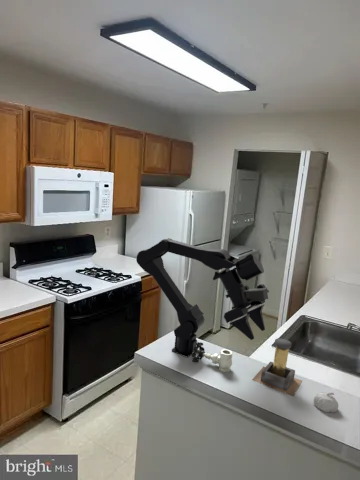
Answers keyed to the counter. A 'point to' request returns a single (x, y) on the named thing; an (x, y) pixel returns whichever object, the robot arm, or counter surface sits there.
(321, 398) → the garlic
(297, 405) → the counter surface
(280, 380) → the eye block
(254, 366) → the counter surface
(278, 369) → the grey-topped tan cylinder
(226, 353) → the valve
